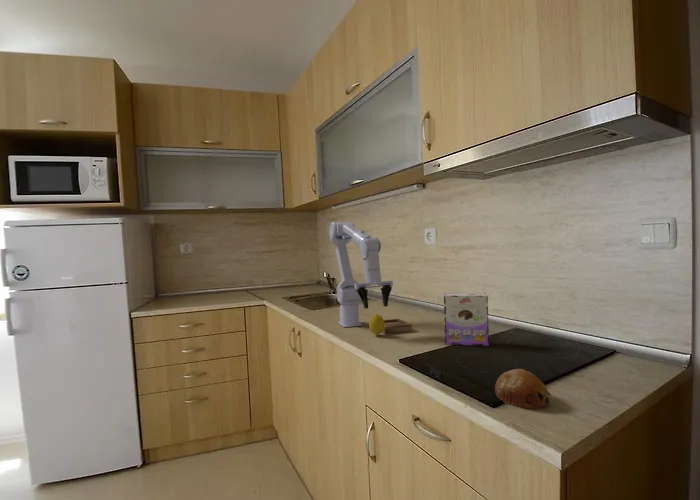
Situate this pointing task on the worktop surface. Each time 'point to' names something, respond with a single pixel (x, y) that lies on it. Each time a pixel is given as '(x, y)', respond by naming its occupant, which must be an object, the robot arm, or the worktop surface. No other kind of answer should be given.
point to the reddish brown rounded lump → (521, 389)
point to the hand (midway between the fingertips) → (376, 307)
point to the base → (396, 326)
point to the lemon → (376, 324)
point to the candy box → (466, 319)
